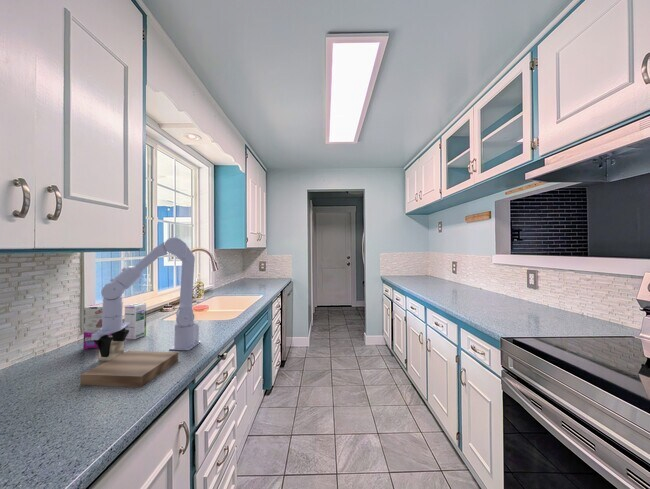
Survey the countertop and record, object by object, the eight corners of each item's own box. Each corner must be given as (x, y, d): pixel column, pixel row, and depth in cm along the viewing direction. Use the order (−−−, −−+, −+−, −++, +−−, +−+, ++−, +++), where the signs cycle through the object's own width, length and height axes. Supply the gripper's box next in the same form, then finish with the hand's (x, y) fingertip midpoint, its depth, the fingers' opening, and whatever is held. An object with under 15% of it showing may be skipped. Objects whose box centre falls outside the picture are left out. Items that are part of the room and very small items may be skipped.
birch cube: (110, 354, 100) (110, 341, 100) (123, 355, 100) (123, 341, 100) (98, 360, 95) (99, 345, 95) (112, 360, 95) (112, 346, 95)
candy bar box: (122, 343, 111) (123, 303, 112) (116, 347, 107) (117, 306, 107) (89, 345, 109) (90, 304, 109) (82, 350, 104) (83, 307, 104)
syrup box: (135, 339, 116) (135, 305, 116) (123, 338, 117) (124, 304, 117) (146, 335, 122) (147, 303, 122) (135, 334, 123) (136, 302, 123)
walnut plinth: (128, 359, 96) (128, 350, 96) (177, 360, 95) (178, 352, 95) (80, 384, 78) (80, 374, 78) (141, 387, 77) (141, 376, 77)
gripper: (117, 310, 105) (117, 345, 105) (83, 320, 90) (81, 361, 90) (135, 311, 104) (134, 346, 104) (103, 321, 90) (102, 362, 90)
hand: (111, 353), depth 97 cm, fingers closed on birch cube, 5 cm apart
